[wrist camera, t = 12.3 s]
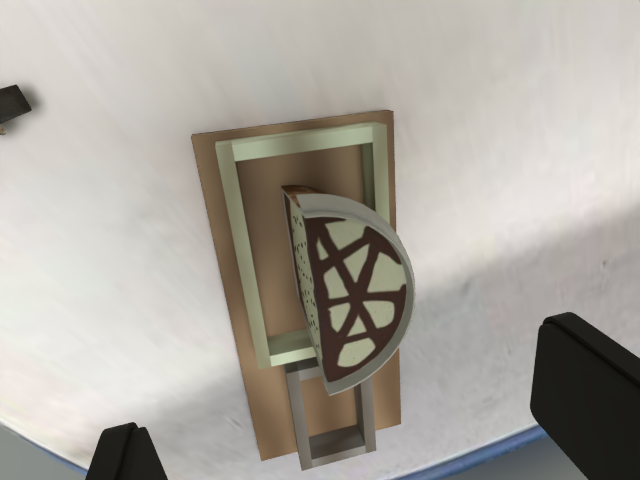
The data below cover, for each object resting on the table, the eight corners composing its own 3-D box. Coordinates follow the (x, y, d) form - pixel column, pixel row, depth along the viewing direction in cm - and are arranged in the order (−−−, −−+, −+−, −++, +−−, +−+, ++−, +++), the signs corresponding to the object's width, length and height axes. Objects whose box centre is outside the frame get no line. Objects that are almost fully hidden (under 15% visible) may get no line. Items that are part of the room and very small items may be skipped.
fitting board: (387, 110, 30) (407, 113, 26) (396, 414, 41) (411, 444, 38) (192, 134, 27) (188, 142, 24) (260, 450, 39) (263, 485, 36)
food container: (371, 298, 34) (426, 377, 25) (300, 314, 33) (329, 403, 24) (361, 151, 29) (424, 184, 20) (277, 165, 28) (303, 206, 19)
